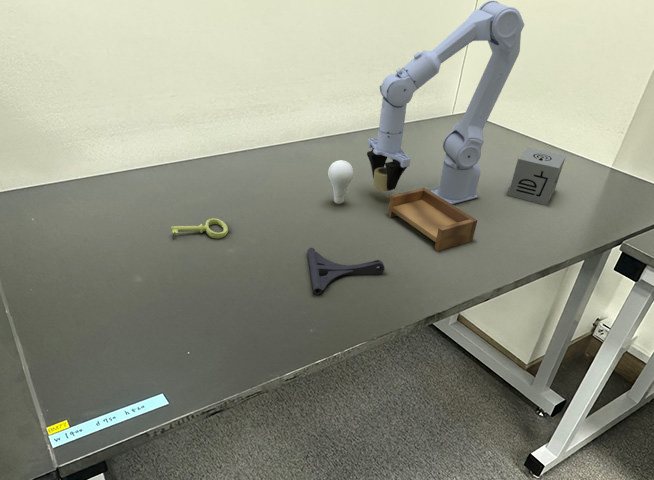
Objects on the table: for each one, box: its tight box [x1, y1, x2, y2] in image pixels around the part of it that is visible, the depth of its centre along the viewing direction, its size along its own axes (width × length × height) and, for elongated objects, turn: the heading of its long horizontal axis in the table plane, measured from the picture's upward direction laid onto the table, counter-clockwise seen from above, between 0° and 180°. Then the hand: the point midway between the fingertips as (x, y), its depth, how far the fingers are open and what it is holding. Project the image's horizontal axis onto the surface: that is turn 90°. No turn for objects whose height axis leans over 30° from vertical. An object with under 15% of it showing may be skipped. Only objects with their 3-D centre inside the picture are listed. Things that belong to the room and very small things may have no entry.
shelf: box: [387, 187, 478, 252], centre depth 122 cm, size 10×18×5 cm, turn 31°
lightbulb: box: [327, 159, 355, 205], centre depth 128 cm, size 6×6×11 cm
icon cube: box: [507, 146, 567, 206], centre depth 138 cm, size 10×10×10 cm
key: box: [170, 217, 229, 239], centre depth 116 cm, size 7×12×2 cm, turn 126°
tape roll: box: [372, 166, 394, 192], centre depth 131 cm, size 5×5×4 cm
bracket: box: [307, 247, 385, 296], centre depth 106 cm, size 14×15×3 cm
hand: (384, 184), depth 132 cm, fingers closed on tape roll, 5 cm apart
